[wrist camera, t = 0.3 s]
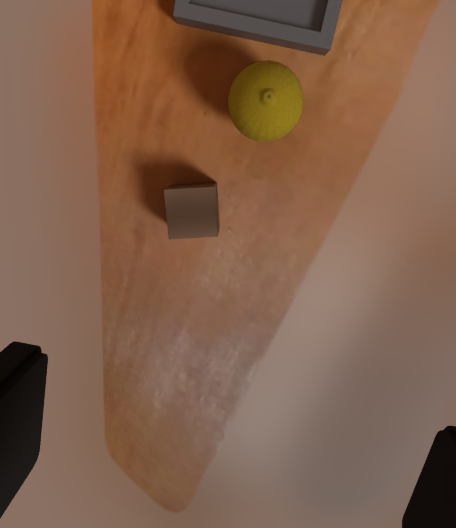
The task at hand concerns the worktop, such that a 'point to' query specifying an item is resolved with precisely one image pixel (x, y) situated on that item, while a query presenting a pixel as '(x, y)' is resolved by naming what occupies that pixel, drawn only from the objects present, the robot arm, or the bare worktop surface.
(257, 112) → the lemon
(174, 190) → the metal cube
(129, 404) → the worktop surface
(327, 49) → the dish
